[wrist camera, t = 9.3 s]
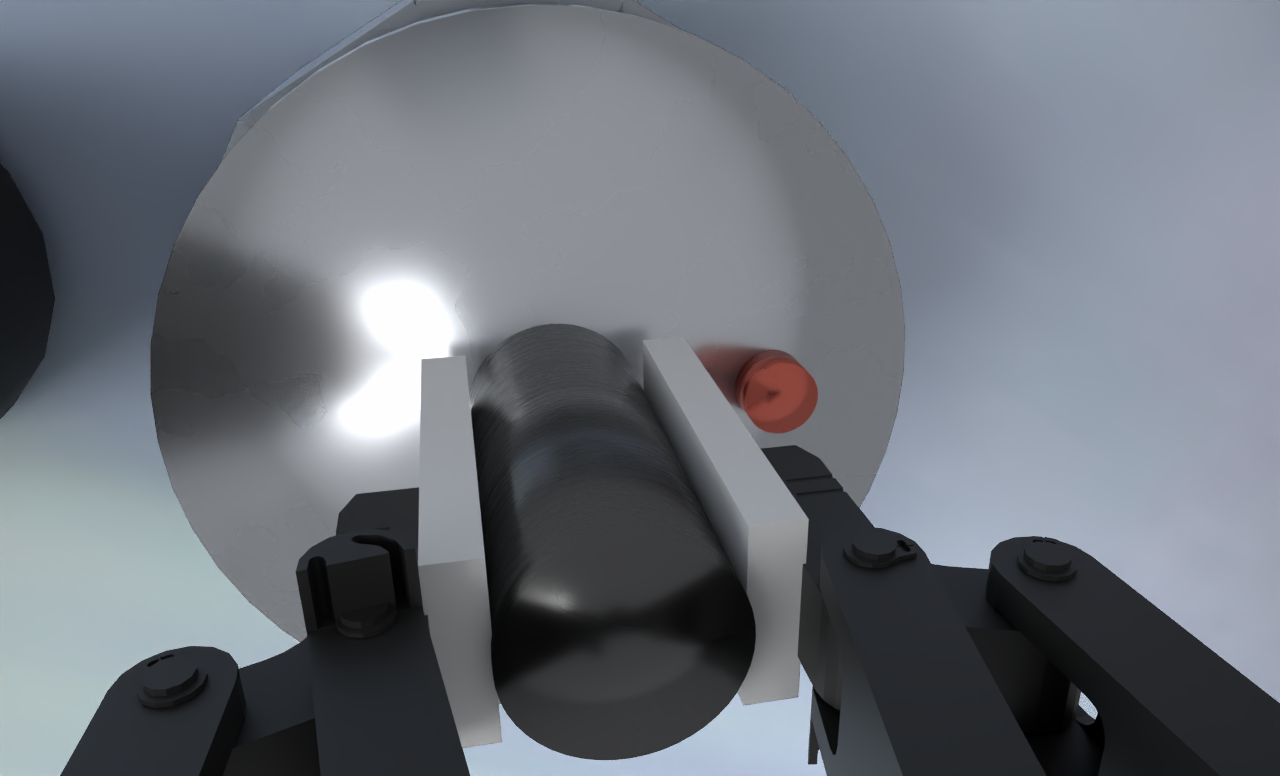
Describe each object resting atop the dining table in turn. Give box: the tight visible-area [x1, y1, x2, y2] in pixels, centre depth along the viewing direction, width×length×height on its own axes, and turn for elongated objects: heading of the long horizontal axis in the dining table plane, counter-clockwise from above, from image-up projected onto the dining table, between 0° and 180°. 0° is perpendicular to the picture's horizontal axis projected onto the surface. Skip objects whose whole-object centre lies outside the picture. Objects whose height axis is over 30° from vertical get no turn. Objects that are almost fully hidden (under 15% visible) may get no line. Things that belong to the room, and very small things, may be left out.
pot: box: [220, 0, 683, 164], centre depth 25 cm, size 20×14×9 cm
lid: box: [151, 3, 905, 760], centre depth 16 cm, size 14×14×10 cm
